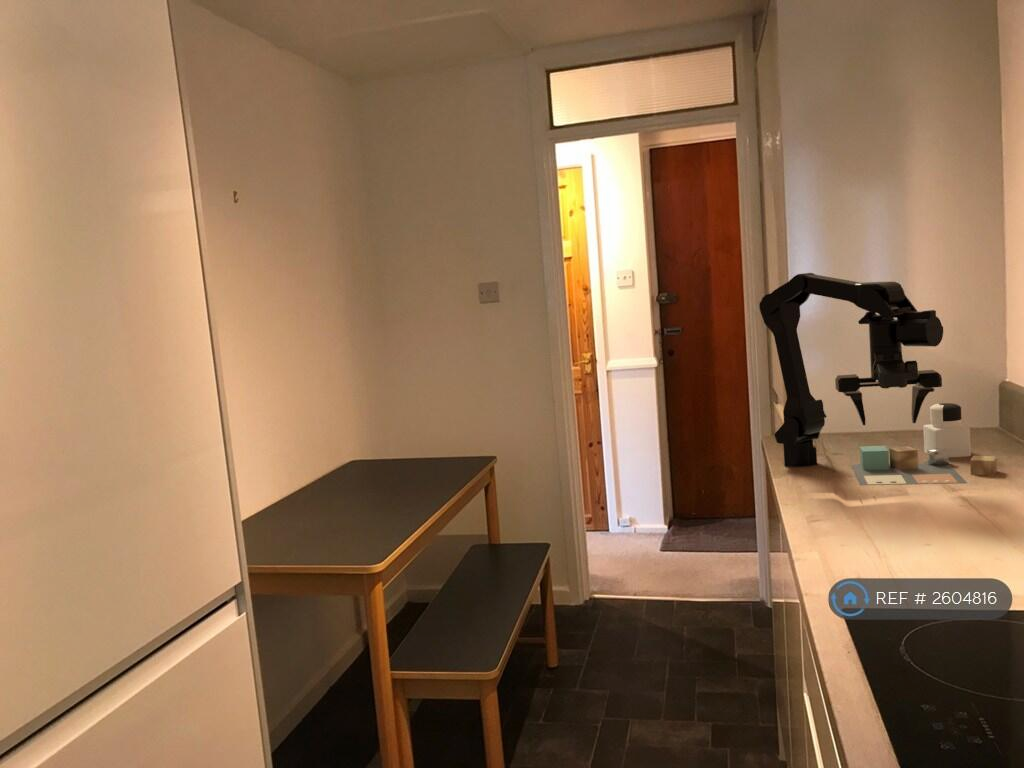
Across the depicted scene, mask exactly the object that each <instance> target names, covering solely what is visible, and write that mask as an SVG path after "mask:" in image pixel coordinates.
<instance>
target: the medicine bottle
mask: <svg viewBox="0 0 1024 768" xmlns="http://www.w3.org/2000/svg"><path fill="white" fill-rule="evenodd" d="M929 414H930V415H929V417H930V424H924V425H922V426H923V428H922V429H923V452H924V453H925V454H927V449H930V448H946V449H948V450H949V459H950V458H963V457H964V458H965V457H971V455H972V454H971V453H972V452H971V451H972V450H971V449H972V447H971V428H970V427H968V426H965V425H963V424H962V420H963V419H962V406H960V405H959V404H957V403H954V402H953V403H951V402H945V403H943V402H942V403H941V402H940V403H934V404H933V405H931V406H930V407H929Z"/></svg>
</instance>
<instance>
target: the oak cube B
mask: <svg viewBox="0 0 1024 768" xmlns="http://www.w3.org/2000/svg"><path fill="white" fill-rule="evenodd" d="M997 471H998V467H997V456H992V455H991V456H988V455H972V457H971V459H970V475H974V476H975V475H976V476H991V477H992V476H993V477H994V476H995V474H996V473H997Z"/></svg>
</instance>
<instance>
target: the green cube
mask: <svg viewBox="0 0 1024 768" xmlns="http://www.w3.org/2000/svg"><path fill="white" fill-rule="evenodd" d="M859 454H860V455H859V457H860V459H859V460H860V464H861V466H862V468H863V470H888V469H889V463H890V452H889V449H888V448H887V446H886V445H871V446H868V445H867V446H859Z"/></svg>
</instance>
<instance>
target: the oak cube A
mask: <svg viewBox="0 0 1024 768" xmlns="http://www.w3.org/2000/svg"><path fill="white" fill-rule="evenodd" d="M918 451H919V450H918V449H916V448H914V447H912V446H911V447H910V446H909V445H907V446H897V447H896V446H895V447H889V449H888V452H889V463H890V467H892V468H894V469H896V470H899V471H900V470H911V469H918V463H919V459H918V458H919V456H918Z"/></svg>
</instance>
